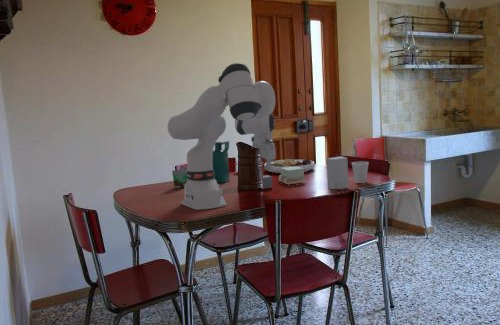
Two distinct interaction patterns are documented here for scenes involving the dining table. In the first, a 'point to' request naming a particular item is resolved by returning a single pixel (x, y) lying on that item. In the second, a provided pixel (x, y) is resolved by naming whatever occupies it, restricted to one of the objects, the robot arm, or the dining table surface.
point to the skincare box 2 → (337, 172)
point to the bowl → (289, 165)
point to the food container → (180, 177)
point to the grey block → (267, 181)
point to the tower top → (292, 172)
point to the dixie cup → (360, 171)
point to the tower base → (291, 179)
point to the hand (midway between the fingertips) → (264, 166)
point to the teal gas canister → (221, 162)
